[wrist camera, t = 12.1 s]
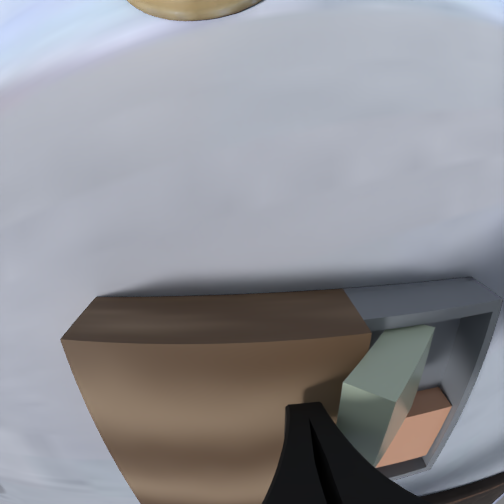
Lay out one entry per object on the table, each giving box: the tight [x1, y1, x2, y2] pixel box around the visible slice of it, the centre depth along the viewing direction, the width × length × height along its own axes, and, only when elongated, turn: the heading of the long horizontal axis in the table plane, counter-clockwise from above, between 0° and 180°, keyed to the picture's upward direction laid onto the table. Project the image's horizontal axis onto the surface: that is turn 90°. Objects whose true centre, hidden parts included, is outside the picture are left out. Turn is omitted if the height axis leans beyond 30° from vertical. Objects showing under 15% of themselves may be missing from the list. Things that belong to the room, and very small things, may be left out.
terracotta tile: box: [375, 387, 452, 468], centre depth 17 cm, size 5×5×2 cm
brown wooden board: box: [60, 289, 372, 504], centre depth 15 cm, size 14×12×4 cm
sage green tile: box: [336, 324, 435, 467], centre depth 12 cm, size 5×5×2 cm
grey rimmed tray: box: [343, 277, 503, 481], centre depth 16 cm, size 14×8×3 cm, turn 2°
